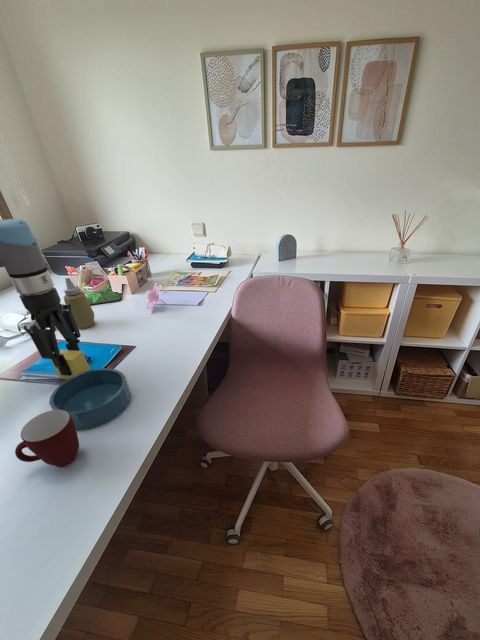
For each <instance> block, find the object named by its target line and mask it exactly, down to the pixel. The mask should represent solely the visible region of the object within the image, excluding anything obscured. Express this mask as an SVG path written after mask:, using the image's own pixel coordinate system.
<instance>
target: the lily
mask: <svg viewBox="0 0 480 640" xmlns="http://www.w3.org/2000/svg"><path fill="white" fill-rule="evenodd" d="M162 286H163V285H162V284H160V285H157V282H155V283H154V284H153V288H152V289H148V290H147V291H145V296H146V299H147V300H148V301H147V303H146V305H145V306H146V307H145V308H146V309H148V308H149V309H148V310H149V313H150V314H152V312H153V309H154V306H155V304H159V303H160V304H161V302H162V303H163V304H164V305H165V306H167V304H166V302H165V301H164V300H163V299H162V298H160V296H159V295H160V294H159V293H160V290H161V288H162Z"/></svg>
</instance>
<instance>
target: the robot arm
mask: <svg viewBox="0 0 480 640" xmlns="http://www.w3.org/2000/svg"><path fill="white" fill-rule="evenodd" d="M0 268H4V269H5V271H6V273H7V275H8V276H9V279H10V281H11V282H12V285H13V287H14V289H15V291H16V293H17V294H19V296H18V297H19V299H20V301H21V303H22V305H23V307H24V308H25V310H26V311H28V312H29V314H30V320H31V321H30V322H29V323H28V324H25V325H23V330H24V331H25V332H27V334H29V336H30V338H31V340H32V342H33V344H34V346H35V348H36V349H37V351H38V354H39V355H40V357H41V358H42V360H50V359H52V361H53V363H54V365H55V367H58V369H59V371H60V373H61V375H68V376H71V375H72V373H71V370H70V368H69V366H68V364H67V362H66V359H65V357H64V355H63V354H60V352H59V351H60V348H59V345H58V340H57V335H56V330H57V331H58V332H59V333H60V335H61V337H62V338H63V339H64V340H65V342H66V344H65V348H66V350H77V351H81V348H80V346H79V345H78V344H80V343H81V340H80V339H79V338H81V332H80V329H79V328H78V327H77V324H76V322H75V319H74V317H73V314H72V310H71V305H70V304H65V303H61V300H62V299H61V297H60V295H59V292H58V290H57V288H56V287H54V286H55V283H54V281H53V278H52V275H51V273H50V271H49V269H48V267H47V265H46V263H45V260H44V257H43V255H42V252H41V250H40V247H39V244H38V240H37V238H36V237H35V235H34V233H33V231H32V230H31V226H30V225H29V224H28V222H27V221H25V220H23V219H20V218H8V219H0Z"/></svg>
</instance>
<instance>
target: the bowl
mask: <svg viewBox="0 0 480 640" xmlns="http://www.w3.org/2000/svg"><path fill="white" fill-rule="evenodd" d="M128 383H129V382H128V380H127V377H126V376H125V374H124V373H123V372H122V371H120V370H119V369H114V368H108V367H107V368H105V367H104V368H94V369H90V370H89V371H86V372H83V373H80V374H77V375H75V376H73V377H71V378H69V379H68V380H67V379H65V380H64V381H63V382H61V383H60V384H59V385H58V386H57V387H56V388H55V389H53V391H52V393H51V395H50V397H49V401H48V403H49V406H50V408H51V411H52V410H64V411H67V412H68V413H69V414H70V416H71V418H72V420H73V422H74V424H75V427H76V431H77V430H79V431H80V430H88V429H93V428H97V427H99V426H102V425H105V424H106V423H109V422H110V421H112V420H114V419H115V418H117V417H118V416H119V415H121V414H122V413H123V412H124V411H125V410H126V409H127V407H128V405H130V402H131V400H132V394H131V388H130V385H129V384H128Z"/></svg>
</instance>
